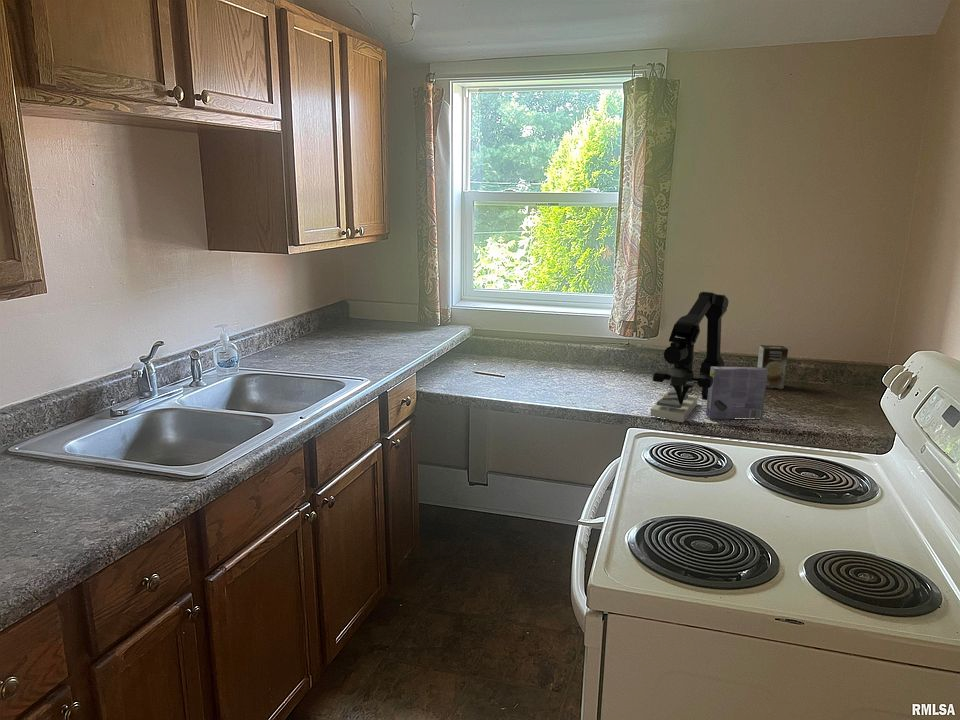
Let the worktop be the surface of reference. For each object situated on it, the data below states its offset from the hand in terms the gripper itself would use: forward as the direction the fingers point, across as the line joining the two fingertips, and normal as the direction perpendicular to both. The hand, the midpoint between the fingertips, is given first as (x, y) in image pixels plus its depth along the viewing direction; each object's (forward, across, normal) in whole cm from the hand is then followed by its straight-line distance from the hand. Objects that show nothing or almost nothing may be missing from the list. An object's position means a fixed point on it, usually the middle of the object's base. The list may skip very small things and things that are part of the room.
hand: (681, 403), depth 231 cm
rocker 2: (+1, -4, +8) cm, 9 cm away
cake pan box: (+6, +16, +10) cm, 20 cm away
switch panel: (+5, -4, +8) cm, 10 cm away
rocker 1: (+1, -4, +16) cm, 16 cm away
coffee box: (+6, +22, +57) cm, 61 cm away
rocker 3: (+1, -4, 0) cm, 4 cm away
